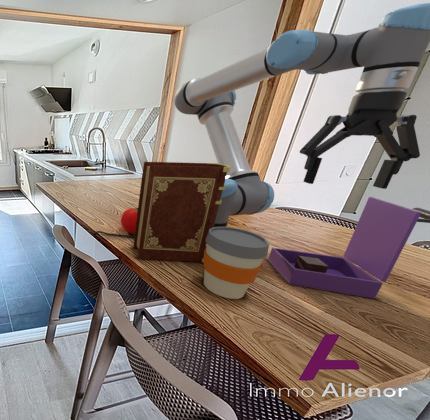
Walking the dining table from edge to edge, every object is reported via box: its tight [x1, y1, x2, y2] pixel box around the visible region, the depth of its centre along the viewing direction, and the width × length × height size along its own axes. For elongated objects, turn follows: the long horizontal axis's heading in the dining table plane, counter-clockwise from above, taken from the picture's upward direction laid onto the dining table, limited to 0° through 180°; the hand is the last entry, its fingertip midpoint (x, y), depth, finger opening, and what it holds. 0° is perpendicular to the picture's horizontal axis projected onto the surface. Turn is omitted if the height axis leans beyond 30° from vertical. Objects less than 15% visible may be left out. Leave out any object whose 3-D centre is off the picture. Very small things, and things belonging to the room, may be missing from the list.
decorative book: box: [132, 161, 230, 263], centre depth 76 cm, size 22×8×30 cm, turn 84°
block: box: [294, 256, 328, 273], centre depth 69 cm, size 4×4×4 cm
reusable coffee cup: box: [202, 226, 270, 300], centre depth 62 cm, size 13×12×15 cm
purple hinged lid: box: [343, 196, 430, 283], centre depth 60 cm, size 18×13×9 cm
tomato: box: [120, 207, 138, 235], centre depth 96 cm, size 12×12×10 cm
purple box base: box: [267, 247, 384, 300], centre depth 68 cm, size 17×13×5 cm
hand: (342, 185), depth 61 cm, fingers open, 13 cm apart
